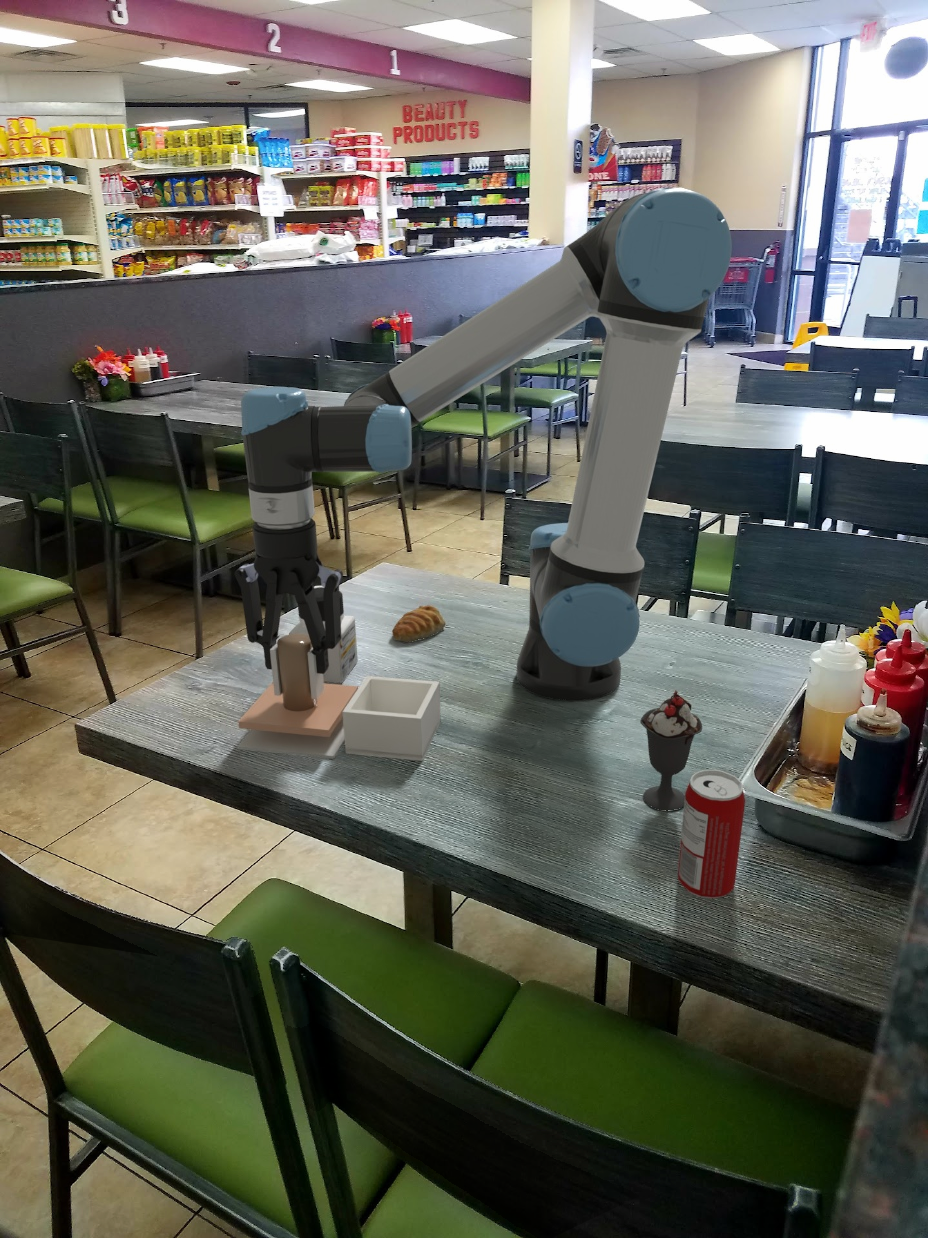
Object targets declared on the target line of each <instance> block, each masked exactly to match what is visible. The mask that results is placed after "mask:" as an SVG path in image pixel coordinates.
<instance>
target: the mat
mask: <svg viewBox="0 0 928 1238" xmlns="http://www.w3.org/2000/svg"><path fill="white" fill-rule="evenodd" d="M344 745H345V737H344V724H343V717H342V719H341V720H340V722H339V723H338V725H337V726H336V728H335V729H334V731H333V732H332V734H331V735H330V737H322V736H312V735H302V734H292V733H282V732H272V731H262V730H252V729H250V731H249V732H248V733H247V734H246V736H244V738H243V739H242V740H241V742H240V743H238V745H237V746H236V748H237V750H240V751H251V752H261V753H273V754H280V755H292V756H302V757H303V756H304V757H311V758H322V759H331V760H334V759H335V758H336V757H337V755H338V753H339V752H340V751H341V749H343V748H342V747H343V746H344Z"/></svg>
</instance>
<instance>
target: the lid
mask: <svg viewBox="0 0 928 1238" xmlns="http://www.w3.org/2000/svg"><path fill="white" fill-rule="evenodd" d="M276 643H277V646H278V656H279V666H280V676H281V686H282V694H281V695H280V696H278V695H275V694H274V685H273V681H272V682H271V683H270V684H269V685H268V686H267V688H266V689H265V690H264V691H263V692H262V694H261V695H260V696H259V697H258V698H257V700H256V701H254V703H253V704H252V705H251V706H250V707H249V709H248V710H247V711H246V712H245V713H244V715H242V717H241V718H240V719H239V720H238V728H239V729H242V730H243V729H245V730H262V731H272V732H282V733H292V734H302V735H312V736H322V737H330V735H331V734H332V732H333V731H334V729H335V728H336V726H337V725H338V723H339V722H340V720H341V719H342V717H343V710H344V709H345V707H346V706H347V704H348V703H349V701H350V700H351V698H352V697H353V695H354V694H355V692H356V691H357V690H358V688H359V686H357V685H349V684H348V685H346V684H338V683H327V682H324V691H323V692H322V693H321V695H320V696H319V697H318V699H312V698H311V687H310V675H309V664H308V652H309V651H310V650H311V649H312V644H311V641H310V638H309V636H308V635H305V634H290V635H289V634H286V635H284V636H281V637H279V638H278V639H277V640H276Z"/></svg>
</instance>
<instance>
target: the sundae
mask: <svg viewBox="0 0 928 1238" xmlns="http://www.w3.org/2000/svg"><path fill="white" fill-rule="evenodd" d="M639 722H640V724H641V725H642V726H643V727H644V728H645V729H646V736H647V746H648V747H647V749H648V750H647V751H648V757H649V763H650V764H651V767H652V768H653V769H654V770H655V771H657V773H659V774H661V777H660V784H659V785H656V786H652V787H649V788H648V789H646V790H645V791H644V792H643V794H642V799H643V801H644V803H645V804H647V806H649V807H650V806H652V807H651V808H652V809H654V808H656V809H655V810H657V809H659V810H658V811H661V810H666V811H665V812H669V811H668V810H674V809H679V808H681V809H683V808H684V807H683V806H684V801H685V793H683V792H682V791H681V790H679V789H677V788H674V787H673V786H672V782H673V781H672V780H673V776H674V775H677V774H679V773H680V772H682V771H683V770H684V769H685V768H686V765H687V762H688V760H689V757H690V752H691V748H692V743H693V740H694V738H695V735H698V734H700V733H701V732H702V731H703V723H702V721H701V719H700V718H699V717H698V716H697V715H695V713H692V703H690V702H688V701H687V700H686V699H685V698H684V697H682V696H681V695H679V694H678V691H677V690H674V692H673V693H672V695H671V697H670V698H667V699H665V700H664V701H662V702H661V703H660V706H659V707H658V708H652V709H650V710H648V711H646V712H645V713H644V714H643V715H642V717H641V718H640V721H639ZM682 807H683V808H682ZM679 810H680V809H679Z"/></svg>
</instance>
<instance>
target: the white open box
mask: <svg viewBox="0 0 928 1238" xmlns="http://www.w3.org/2000/svg"><path fill="white" fill-rule="evenodd" d="M440 685H441V684H440V681H435V680H424V679H423V680H421V679H410V678H408V679H407V678H400V677H399V678H397V677H386V676H371V675H366V676H365V678H364V679H363V681H362V682H361V684H360V685H359V686H358V690H357V691H356V692H355V694H354V695H353V697H352V698H351V700H350V701H349V703H348V704H347V706H346V707H345V709H344V710H343V724H344V737H345V743H344V748H345V754H349V755H359V756H368V757H378V758H389V759H398V760H399V759H400V760H407V761H418V762H423V761H424V759H425V756H426V755H427V752H428V750H429V749H430V746H431V744H432V742H433V740H434V737H435V735H436V733H437V731H438V729H439V726H440V724H441V722H442V720H441V719H442V717H441V693H440V692H441V689H440V688H441V687H440Z"/></svg>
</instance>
